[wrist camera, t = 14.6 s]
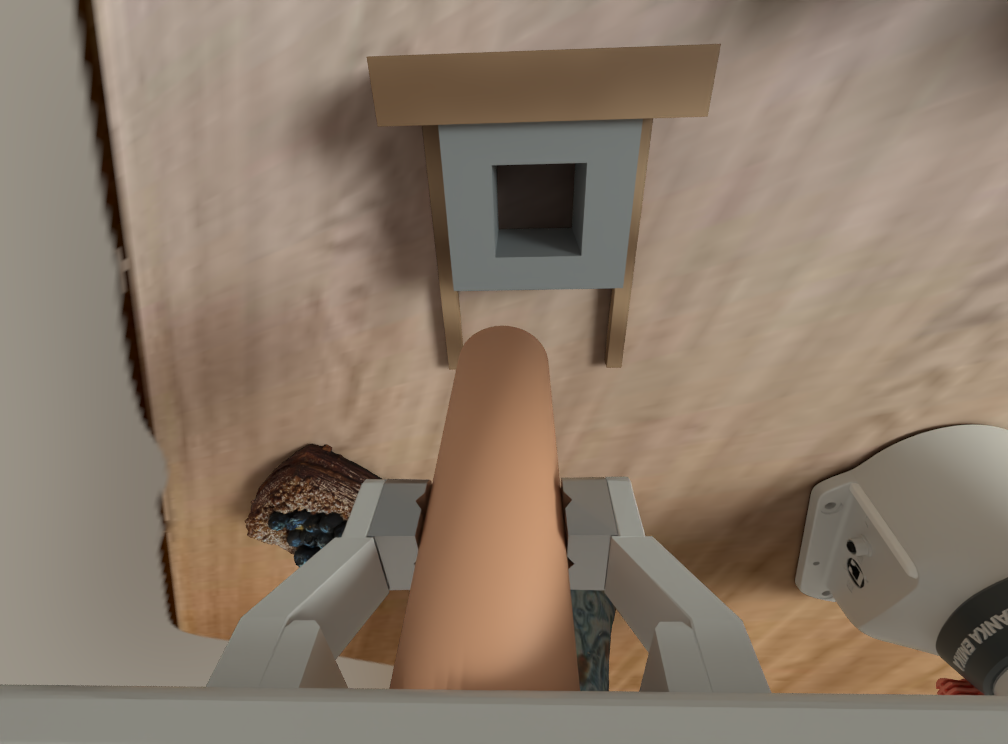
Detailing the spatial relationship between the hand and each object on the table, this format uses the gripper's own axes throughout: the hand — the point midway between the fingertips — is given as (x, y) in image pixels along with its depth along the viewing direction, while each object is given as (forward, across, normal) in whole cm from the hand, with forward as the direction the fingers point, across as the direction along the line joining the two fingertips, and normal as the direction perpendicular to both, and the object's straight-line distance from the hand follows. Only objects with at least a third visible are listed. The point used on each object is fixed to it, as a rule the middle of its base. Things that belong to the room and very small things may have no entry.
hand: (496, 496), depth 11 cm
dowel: (+6, 0, 0) cm, 6 cm away
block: (+21, -2, -2) cm, 21 cm away
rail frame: (+21, -1, 0) cm, 21 cm away
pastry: (+22, +17, +23) cm, 36 cm away
